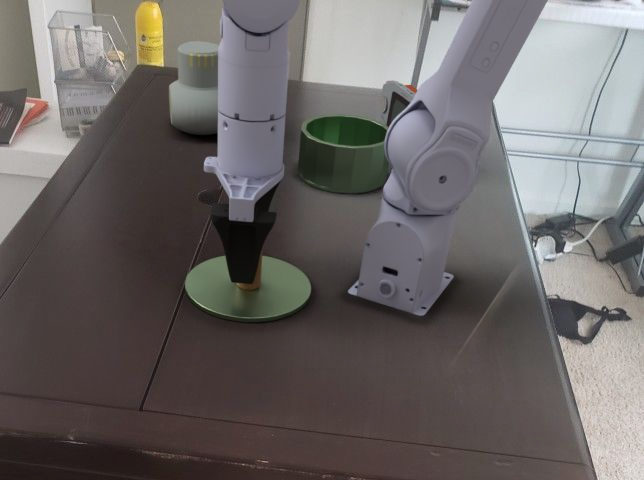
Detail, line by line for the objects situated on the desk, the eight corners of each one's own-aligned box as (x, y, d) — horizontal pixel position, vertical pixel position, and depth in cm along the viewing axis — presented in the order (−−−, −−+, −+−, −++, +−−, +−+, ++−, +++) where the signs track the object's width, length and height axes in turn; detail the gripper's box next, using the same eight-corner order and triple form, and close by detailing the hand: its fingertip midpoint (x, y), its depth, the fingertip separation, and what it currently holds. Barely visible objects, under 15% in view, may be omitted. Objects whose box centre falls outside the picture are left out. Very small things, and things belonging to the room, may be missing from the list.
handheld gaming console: (371, 137, 104) (380, 73, 99) (390, 135, 105) (400, 72, 100) (416, 177, 95) (429, 110, 89) (437, 176, 96) (451, 109, 90)
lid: (273, 342, 67) (276, 291, 63) (160, 303, 70) (157, 252, 67) (330, 285, 74) (336, 237, 71) (226, 252, 78) (227, 205, 75)
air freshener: (235, 143, 100) (236, 60, 93) (173, 143, 99) (170, 59, 92) (226, 115, 108) (227, 36, 101) (169, 115, 107) (166, 34, 99)
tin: (364, 201, 89) (371, 154, 85) (282, 179, 93) (285, 133, 89) (399, 171, 96) (406, 127, 92) (321, 151, 100) (325, 108, 96)
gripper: (215, 80, 67) (214, 225, 77) (191, 137, 57) (194, 296, 67) (292, 86, 67) (282, 231, 77) (282, 145, 57) (272, 303, 67)
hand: (246, 262), depth 72 cm, fingers open, 7 cm apart
